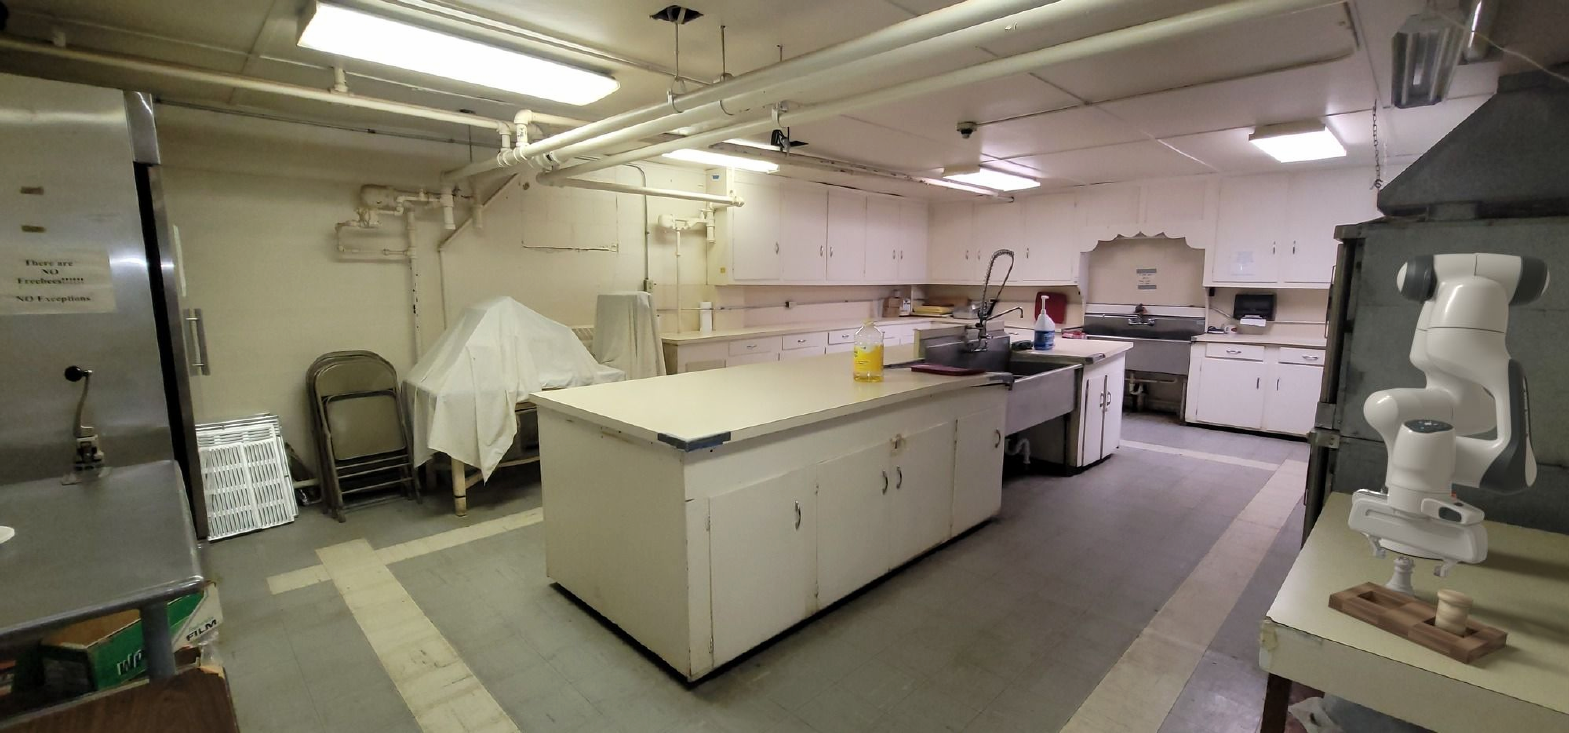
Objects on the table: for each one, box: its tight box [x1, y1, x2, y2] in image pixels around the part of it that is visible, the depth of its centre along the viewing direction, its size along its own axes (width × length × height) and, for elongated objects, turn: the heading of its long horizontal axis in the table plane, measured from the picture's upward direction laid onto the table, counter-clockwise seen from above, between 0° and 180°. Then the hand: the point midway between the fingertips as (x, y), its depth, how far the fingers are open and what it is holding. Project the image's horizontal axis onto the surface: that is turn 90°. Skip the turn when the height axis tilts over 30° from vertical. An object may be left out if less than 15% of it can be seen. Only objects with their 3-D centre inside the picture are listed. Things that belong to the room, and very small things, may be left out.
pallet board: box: [1327, 581, 1509, 665], centre depth 118 cm, size 14×20×9 cm
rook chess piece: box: [1385, 555, 1416, 598], centre depth 129 cm, size 4×4×8 cm
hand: (1408, 566), depth 128 cm, fingers open, 8 cm apart
